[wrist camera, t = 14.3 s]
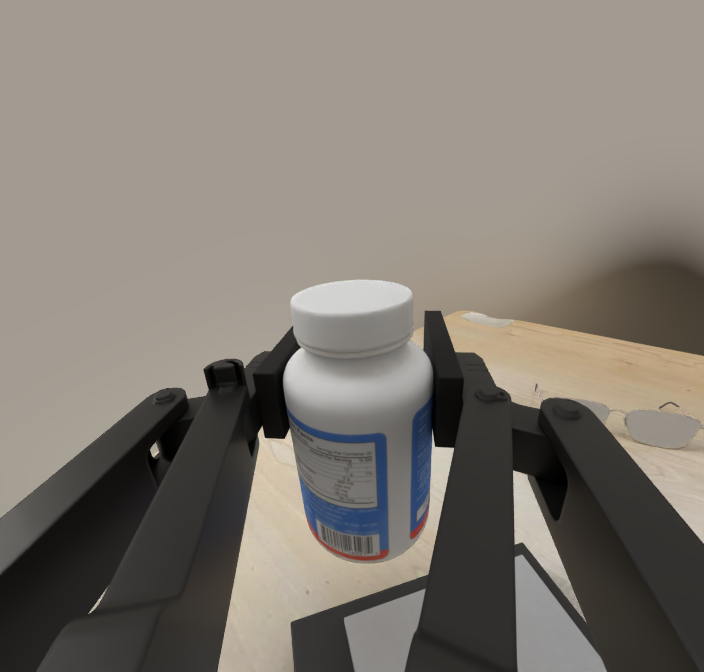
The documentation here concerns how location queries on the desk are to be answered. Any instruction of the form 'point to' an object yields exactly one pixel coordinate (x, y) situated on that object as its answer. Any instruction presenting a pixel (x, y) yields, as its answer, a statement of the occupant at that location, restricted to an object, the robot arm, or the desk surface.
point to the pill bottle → (360, 418)
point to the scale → (403, 617)
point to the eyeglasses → (651, 424)
